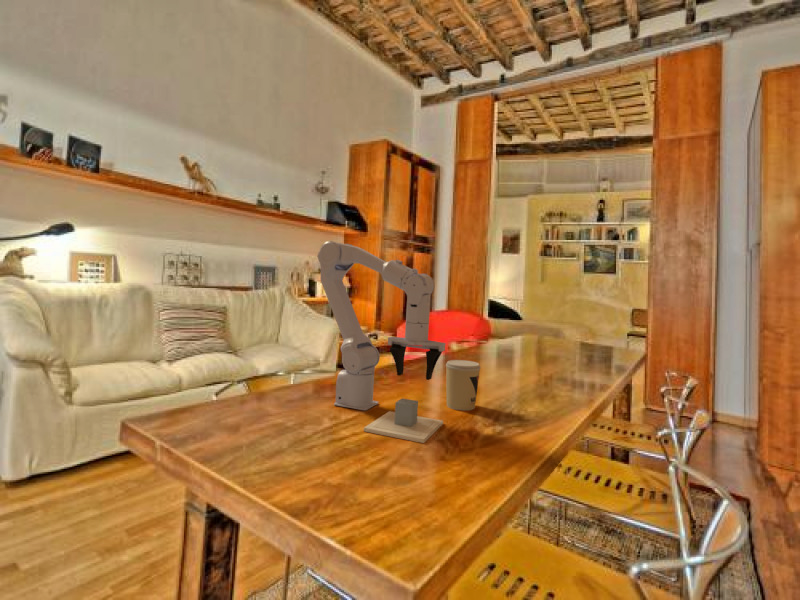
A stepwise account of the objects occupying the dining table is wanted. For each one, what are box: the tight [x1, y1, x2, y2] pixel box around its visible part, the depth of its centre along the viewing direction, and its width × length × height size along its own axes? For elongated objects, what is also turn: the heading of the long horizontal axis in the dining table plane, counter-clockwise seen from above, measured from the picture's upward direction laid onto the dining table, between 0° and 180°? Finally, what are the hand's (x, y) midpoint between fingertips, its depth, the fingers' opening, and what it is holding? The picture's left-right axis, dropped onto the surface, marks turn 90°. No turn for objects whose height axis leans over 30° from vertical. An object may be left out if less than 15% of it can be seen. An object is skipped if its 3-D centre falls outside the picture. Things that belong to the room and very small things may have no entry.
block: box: [394, 398, 419, 427], centre depth 102 cm, size 4×4×5 cm
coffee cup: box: [445, 359, 481, 412], centre depth 121 cm, size 9×9×12 cm
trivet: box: [363, 410, 444, 444], centre depth 102 cm, size 14×14×1 cm
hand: (414, 376), depth 110 cm, fingers open, 7 cm apart
